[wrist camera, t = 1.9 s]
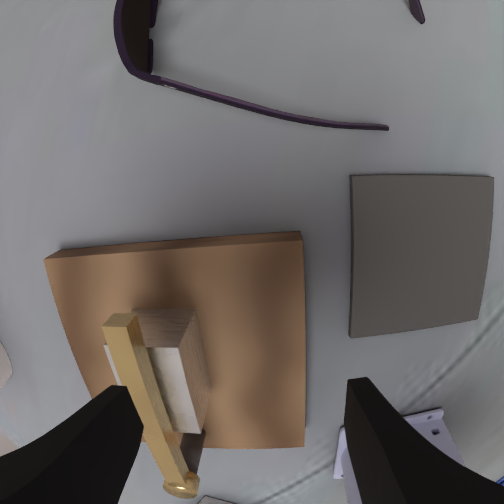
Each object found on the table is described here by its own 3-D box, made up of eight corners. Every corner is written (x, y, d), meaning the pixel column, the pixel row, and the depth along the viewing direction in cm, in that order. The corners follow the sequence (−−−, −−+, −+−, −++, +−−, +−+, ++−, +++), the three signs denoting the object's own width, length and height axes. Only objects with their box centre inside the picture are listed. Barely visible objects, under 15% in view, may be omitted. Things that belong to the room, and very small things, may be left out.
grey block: (196, 308, 18) (177, 347, 14) (211, 389, 20) (200, 433, 16) (132, 309, 18) (103, 345, 14) (154, 386, 20) (135, 427, 16)
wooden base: (299, 231, 18) (312, 268, 12) (302, 428, 23) (307, 488, 17) (59, 249, 19) (3, 282, 14) (118, 421, 24) (94, 470, 18)
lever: (202, 486, 17) (200, 500, 16) (171, 483, 17) (167, 496, 16) (147, 313, 13) (137, 327, 12) (104, 313, 13) (92, 325, 12)
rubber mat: (488, 176, 16) (494, 177, 16) (473, 315, 19) (477, 319, 19) (349, 175, 17) (352, 176, 16) (348, 333, 20) (350, 338, 19)
